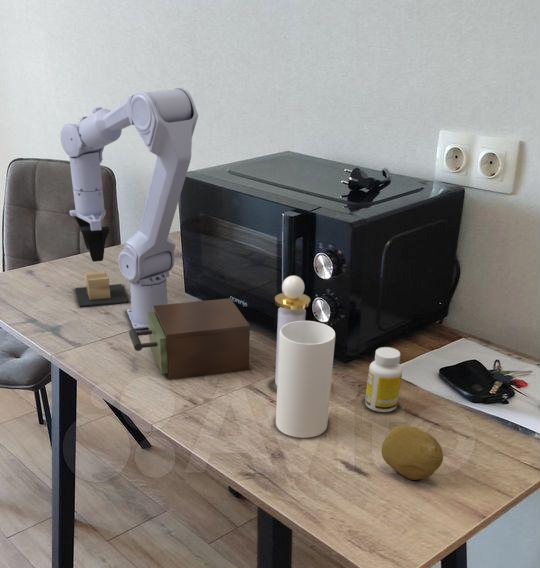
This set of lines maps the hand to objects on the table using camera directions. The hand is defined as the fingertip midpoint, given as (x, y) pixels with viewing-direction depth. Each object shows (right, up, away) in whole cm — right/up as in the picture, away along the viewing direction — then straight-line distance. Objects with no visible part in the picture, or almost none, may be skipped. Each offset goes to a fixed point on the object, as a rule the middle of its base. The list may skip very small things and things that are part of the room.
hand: (94, 254), depth 147 cm
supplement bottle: (+55, -33, -29) cm, 71 cm away
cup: (+42, -36, -35) cm, 65 cm away
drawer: (+21, -23, -19) cm, 36 cm away
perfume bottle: (+40, -29, -25) cm, 55 cm away
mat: (0, -8, +6) cm, 9 cm away
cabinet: (+24, -24, -17) cm, 38 cm away
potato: (+57, -44, -45) cm, 85 cm away
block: (0, -8, +5) cm, 9 cm away
